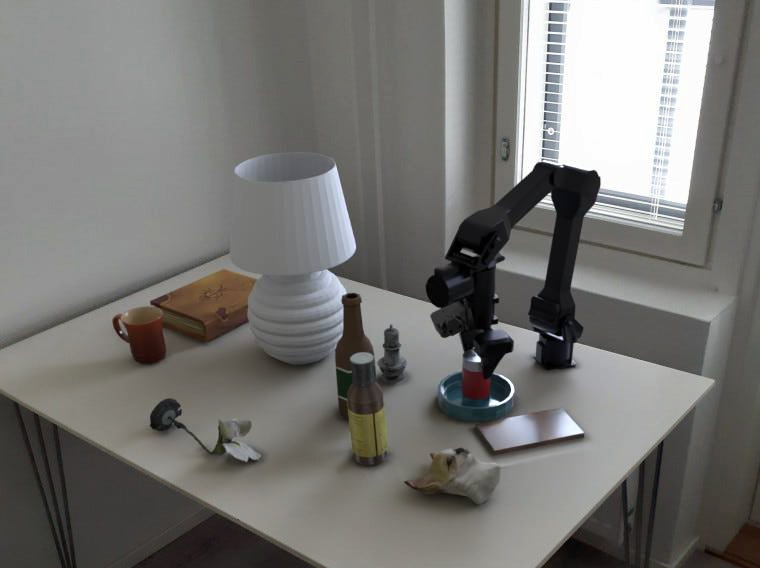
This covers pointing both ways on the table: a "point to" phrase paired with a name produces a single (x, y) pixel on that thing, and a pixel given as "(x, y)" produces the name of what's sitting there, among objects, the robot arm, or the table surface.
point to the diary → (207, 305)
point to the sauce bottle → (366, 412)
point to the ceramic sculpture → (459, 476)
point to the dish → (454, 407)
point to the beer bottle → (349, 347)
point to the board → (528, 431)
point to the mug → (143, 333)
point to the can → (474, 381)
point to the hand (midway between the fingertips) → (476, 367)
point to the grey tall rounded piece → (392, 357)
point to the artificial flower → (227, 431)
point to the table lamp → (292, 251)
